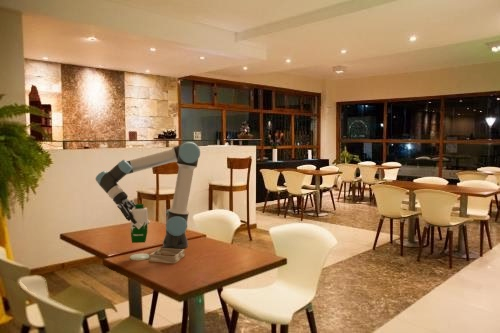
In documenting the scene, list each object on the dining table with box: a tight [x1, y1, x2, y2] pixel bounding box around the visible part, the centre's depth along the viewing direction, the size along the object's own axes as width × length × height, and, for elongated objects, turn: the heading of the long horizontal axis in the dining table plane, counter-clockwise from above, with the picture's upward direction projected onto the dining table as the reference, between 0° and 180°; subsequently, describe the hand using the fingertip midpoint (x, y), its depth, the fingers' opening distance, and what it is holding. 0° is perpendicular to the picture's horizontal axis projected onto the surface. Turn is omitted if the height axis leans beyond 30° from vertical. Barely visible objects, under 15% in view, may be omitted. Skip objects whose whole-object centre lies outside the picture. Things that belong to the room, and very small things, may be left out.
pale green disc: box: [129, 253, 150, 262], centre depth 212 cm, size 11×11×1 cm
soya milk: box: [130, 203, 149, 244], centre depth 211 cm, size 9×9×20 cm
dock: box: [148, 247, 186, 264], centre depth 212 cm, size 15×15×4 cm
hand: (144, 225), depth 211 cm, fingers closed on soya milk, 9 cm apart
